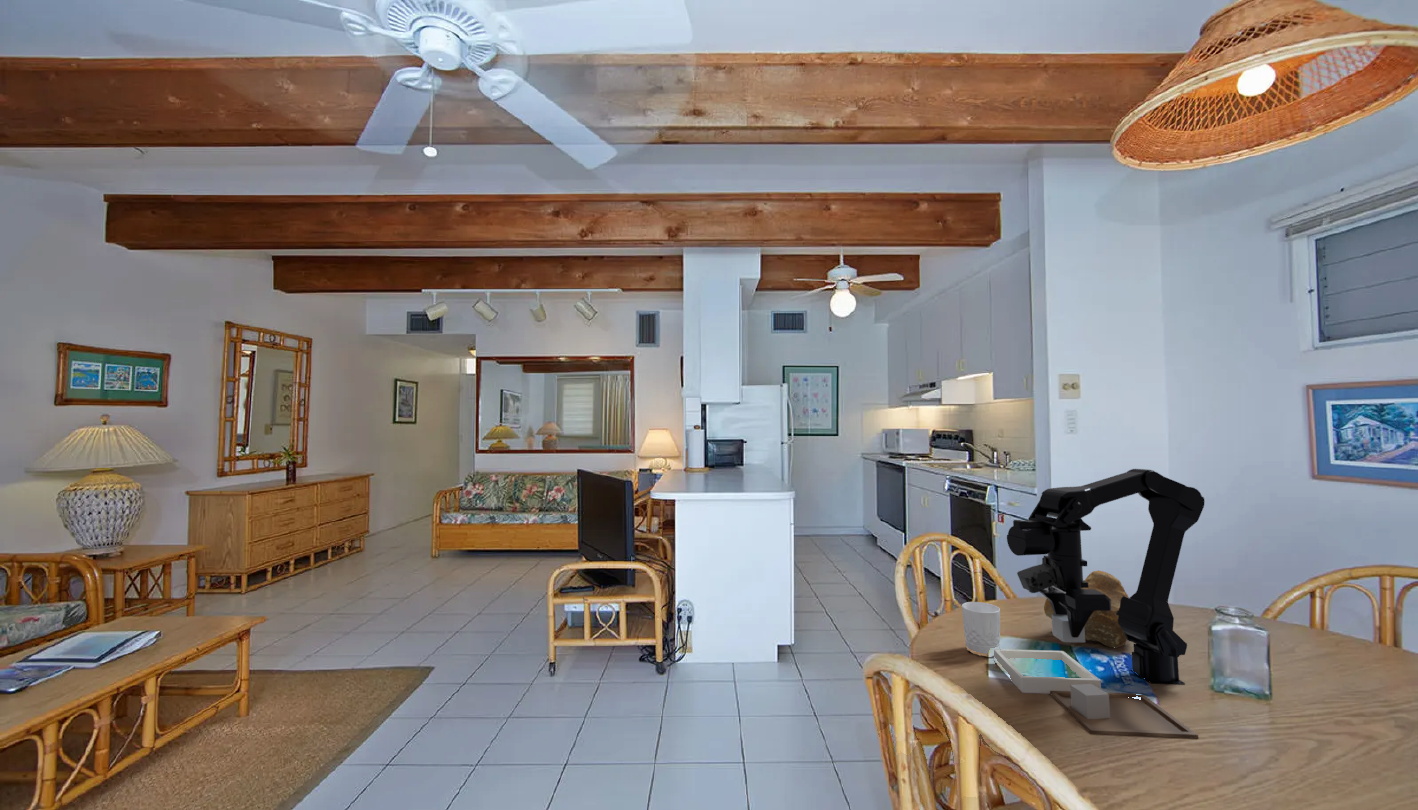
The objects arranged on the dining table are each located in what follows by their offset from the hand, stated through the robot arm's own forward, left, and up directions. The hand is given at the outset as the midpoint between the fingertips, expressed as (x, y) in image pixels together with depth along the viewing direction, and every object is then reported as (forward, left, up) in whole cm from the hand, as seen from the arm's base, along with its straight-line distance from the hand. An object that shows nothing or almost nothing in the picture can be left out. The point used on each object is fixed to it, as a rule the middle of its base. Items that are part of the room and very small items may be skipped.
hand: (1068, 633), depth 109 cm
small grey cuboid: (+2, +12, -10) cm, 15 cm away
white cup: (+11, -16, -10) cm, 22 cm away
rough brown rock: (-19, -26, -10) cm, 34 cm away
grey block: (0, 0, -1) cm, 1 cm away
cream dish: (+4, -2, -10) cm, 11 cm away
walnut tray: (-2, +12, -10) cm, 16 cm away
